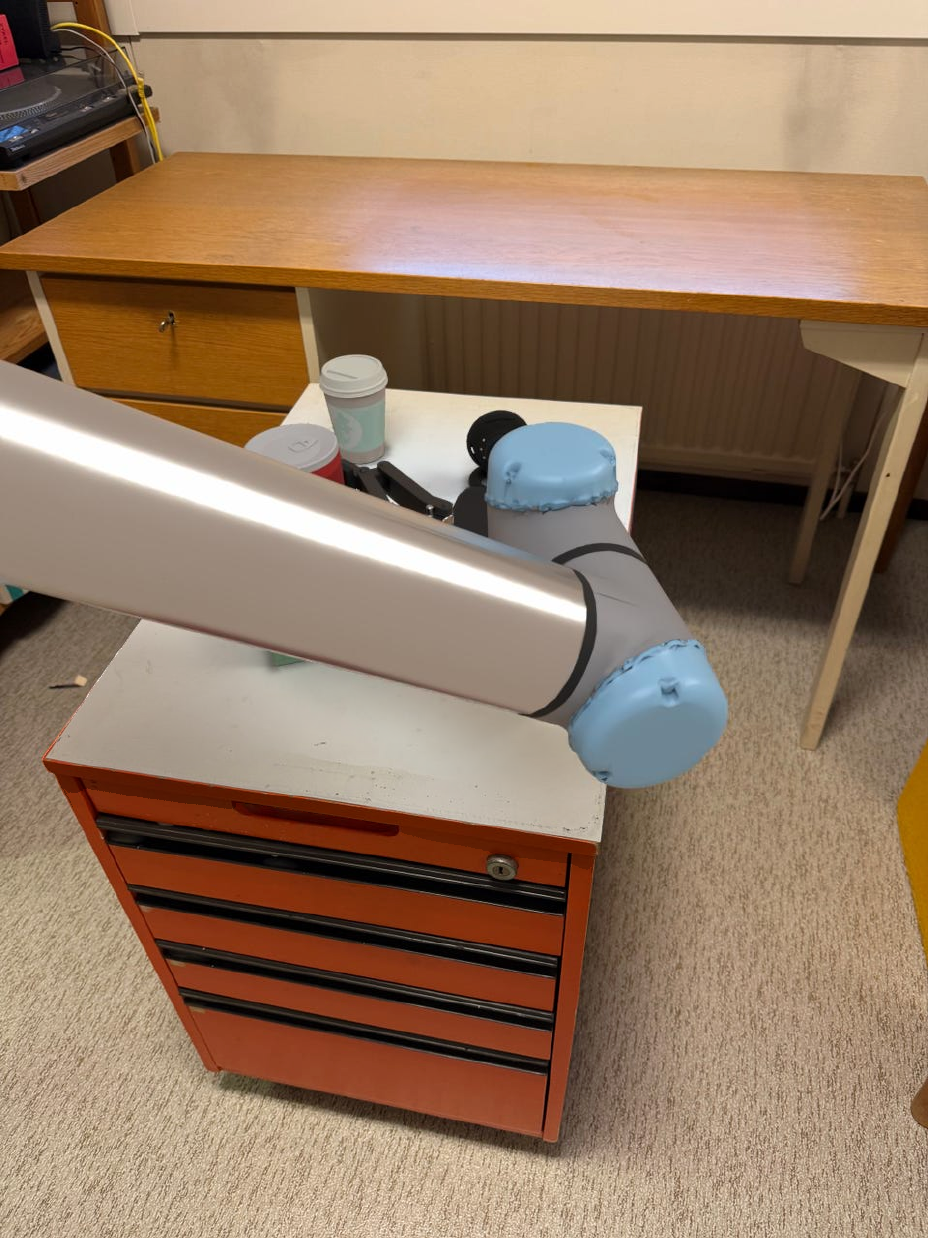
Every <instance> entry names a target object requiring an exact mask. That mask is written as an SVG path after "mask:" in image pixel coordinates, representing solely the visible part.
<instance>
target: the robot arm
mask: <svg viewBox="0 0 928 1238" xmlns="http://www.w3.org/2000/svg"><path fill="white" fill-rule="evenodd" d="M341 462H342V469H343V476H344V483H345V485H342V484H339V483H337V482H334V481H331V480H328V479H326V478H323V477H320V476H317V475H315V474H312V473H309V472H307V471H304V470H301V469H298V468H296V467H293V466H290V465H288V464H285V463H282V462H279V461H277V460H274V459H271V458H268V457H266V456H263V455H260V454H258V453H255V452H252V451H249V450H247V449H244V447H241V446H239V445H235V444H233V443H230V442H227V441H225V440H221V439H219V438H216V437H214V436H211V435H208V434H206V433H203V432H200V431H198V430H195V429H192V428H190V427H187V426H184V425H181V424H178V423H176V422H173V421H170V420H167V419H164V418H163V417H159V416H157V415H154V414H152V413H149V412H146V411H143V410H140V409H138V408H135V407H132V406H129V405H126V404H124V403H121V402H119V401H116V400H113V399H110V398H108V397H105V396H102V395H100V394H97V393H94V392H91V391H88V390H85V389H83V388H80V387H78V386H75V385H72V384H70V383H67V382H64V381H62V380H59V379H56V378H53V377H51V376H48V375H45V374H42V373H40V372H37V371H34V370H31V369H29V368H26V367H23V366H20V365H17V364H15V363H12V362H9V361H7V360H4V359H2V358H0V584H2V585H6V586H10V587H14V588H16V589H21V590H26V591H30V592H33V593H38V594H41V595H45V596H49V597H53V598H57V599H61V600H65V601H68V602H73V603H77V604H81V605H85V606H89V607H91V608H96V609H100V610H103V611H108V612H111V613H116V614H121V615H124V616H128V617H132V618H136V619H139V620H144V621H148V622H151V623H156V624H159V625H163V626H168V627H172V628H174V629H175V628H176V629H179V630H183V631H186V632H191V633H195V634H198V635H203V636H207V637H211V638H215V639H219V640H223V641H227V642H230V643H235V644H238V645H243V646H246V647H251V648H255V649H258V650H262V651H266V652H270V653H273V652H274V653H278V654H282V655H285V656H289V657H293V658H297V659H301V660H305V661H306V662H310V663H312V664H313V663H314V664H317V665H321V666H325V667H328V668H329V667H330V668H333V669H337V670H341V671H345V672H349V673H353V674H357V675H360V676H365V677H369V678H371V679H372V678H373V679H377V680H381V681H384V682H387V683H393V684H397V685H401V686H405V687H409V688H411V689H412V688H413V689H417V690H420V691H424V692H428V693H432V694H436V695H440V696H444V697H448V698H452V699H456V700H459V701H464V702H468V703H472V704H476V705H479V706H483V707H487V708H491V709H495V710H499V711H503V712H507V713H512V714H515V715H519V716H522V717H525V718H529V719H532V720H534V721H535V720H536V721H539V722H543V723H547V724H551V725H555V726H559V727H561V728H562V729H564V730H565V731H566V732H567V737H568V739H567V740H568V741H567V743H568V746H569V748H570V749H571V751H572V752H574V753H575V754H576V756H577V757H578V760H579V761H580V763H581V764H582V766H583V767H584V768H585V770H586V771H587V773H589V774H590V775H591V776H592V777H594V778H595V779H596V780H597V781H598V782H599V783H602V784H604V785H606V786H609V787H613V788H617V789H625V790H626V789H628V790H633V789H643V788H650V787H653V786H658V785H661V784H664V783H667V782H669V781H672V780H674V779H676V778H678V777H680V776H682V775H684V774H685V773H687V772H689V771H690V770H692V769H693V768H694V767H697V766H698V764H700V763H701V762H702V760H703V758H704V756H706V754H708V753H710V752H711V750H712V749H714V748H715V747H716V746H717V745H718V744H719V741H720V740H721V738H722V737H723V734H724V732H725V729H726V727H727V722H728V717H729V705H728V700H727V698H726V697H727V696H726V694H725V691H724V689H723V687H722V685H721V683H720V682H719V679H718V677H717V676H716V673H715V671H714V669H713V668H712V666H711V664H710V662H709V660H708V655H707V651H706V648H705V647H704V646H703V644H702V643H700V642H699V641H698V640H697V639H696V638H695V637H694V636H693V634H692V632H691V630H690V629H689V628H688V626H687V625H686V623H685V622H684V619H683V618H682V616H681V615H680V614H679V611H677V609H676V608H675V606H674V605H673V603H672V601H671V600H670V598H669V596H668V595H667V593H666V591H664V588H663V587H662V586H661V584H660V582H659V581H658V579H657V577H656V576H655V574H654V572H653V571H652V570H651V568H650V566H649V564H648V562H647V561H646V559H645V557H644V556H643V554H642V552H641V551H640V550H639V548H638V545H637V544H636V543H635V542H634V541H635V540H633V538H632V537H631V534H630V533H629V531H628V530H627V529H626V527H625V525H624V523H623V522H622V520H621V519H620V517H619V516H618V513H617V511H616V505H615V499H616V494H617V492H618V491H619V481H618V480H617V455H616V452H615V449H614V447H613V445H612V444H611V443H610V441H609V440H608V439H607V438H606V437H605V436H603V435H602V434H601V433H599V432H597V431H596V430H593V429H592V428H589V427H587V426H583V425H580V424H577V423H576V424H575V423H572V422H564V421H546V422H541V423H540V422H539V423H533V424H527V425H526V426H522V427H520V428H517V429H515V430H513V431H511V432H509V433H507V434H506V435H505V436H503V437H502V438H501V439H500V440H499V441H497V443H496V444H495V445H494V447H493V449H492V451H491V453H490V456H489V462H488V475H487V481H486V486H487V491H486V493H485V501H486V502H487V513H488V538H486V537H484V536H481V535H478V534H475V533H473V532H470V531H467V530H465V529H462V528H459V527H456V526H454V516H453V506H454V504H453V502H451V501H449V500H447V499H443V498H441V497H438V496H435V495H433V494H432V493H430V492H429V491H428V490H427V489H425V488H424V487H423V486H422V485H420V484H418V483H417V482H416V481H415V480H414V479H413V478H411V477H410V476H408V475H407V474H406V473H404V471H402V470H400V469H399V467H397V466H395V465H394V464H393V463H392V462H390V461H389V460H380V461H378V462H377V463H376V467H373V468H370V467H369V466H365V465H364V466H359V465H358V464H355V463H351V462H349V461H348V460H346V459H342V457H341ZM389 498H390V499H391V500H392V501H391V500H390V499H389Z"/></svg>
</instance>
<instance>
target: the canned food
mask: <svg viewBox="0 0 928 1238" xmlns="http://www.w3.org/2000/svg"><path fill="white" fill-rule="evenodd" d="M243 446H244V447H243V448H244V449H247V450H249V451H252V452H255V453H258V454H260V455H263V456H266V457H268V458H271V459H274V460H277V461H279V462H282V463H285V464H288V465H290V466H293V467H296V468H298V469H301V470H304V471H307V472H309V473H312V474H315V475H317V476H320V477H323V478H326V479H328V480H331V481H334V482H337V483H339V484H342V485H345V483H344V476H343V469H342V462H341V458H342V457H341V455H340V450H339V444H338V441H337V437H336V435H335V434H334V431H333V430H331V429H330V428H327V427H325V426H322V425H319V424H314V423H290V424H284V425H279V426H275V427H272V428H269V429H266V430H264V431H262V432H260V433H258V434H256V435H255V436H253V437H251V438H250V439H249V440H248V441H247V442H246V443H245V445H243Z"/></svg>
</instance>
